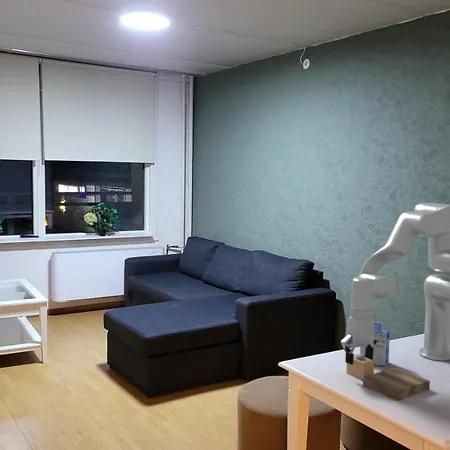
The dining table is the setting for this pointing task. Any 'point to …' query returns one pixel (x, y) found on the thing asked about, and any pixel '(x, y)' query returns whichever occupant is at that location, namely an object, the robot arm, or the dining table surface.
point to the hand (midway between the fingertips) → (359, 361)
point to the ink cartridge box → (380, 347)
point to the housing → (360, 367)
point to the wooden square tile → (396, 383)
